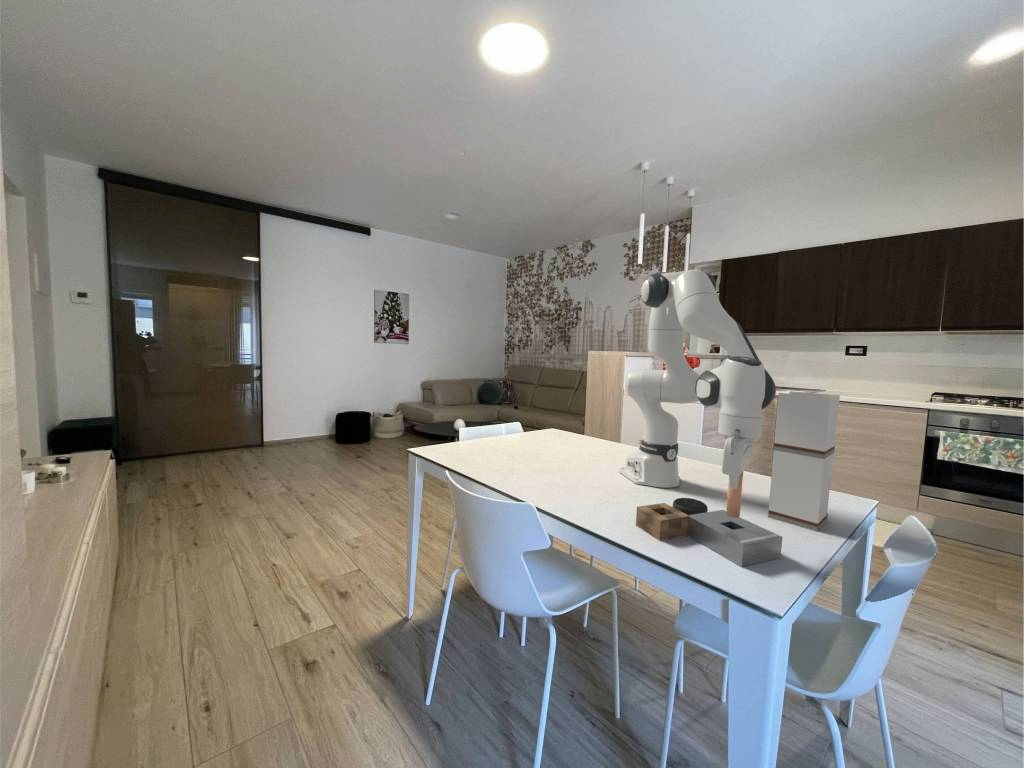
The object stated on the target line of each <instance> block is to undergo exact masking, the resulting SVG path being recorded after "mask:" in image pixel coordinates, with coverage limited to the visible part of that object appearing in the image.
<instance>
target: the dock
mask: <svg viewBox="0 0 1024 768" xmlns="http://www.w3.org/2000/svg"><path fill="white" fill-rule="evenodd" d="M687 516H688V529H687V536H686V537H688V538H691V539H693V540H694V541H695V542H698V543H699V544H701V545H703V546H704V547H706V548H708V549H710V550H711V551H713V552H715V553H716V554H718V555H720V556H722V557H723V558H725V559H726V560H729V561H730V562H732V563H733V564H736V565H737V566H739V567H740V568H745V567H748V566H752V565H757V564H761V563H765V562H771V561H774V560H779V559H781V558H782V546H783V536H782V535H779V534H777V533H775V532H773V531H771V530H769V529H766V528H765V527H762V526H759V525H757V524H755V523H753V522H751V521H748V520H746V519H744V518H742V517H738V518H735V517H730V516H728V515H726V510H725V509H720V510H714V511H708V512H706V513H699V514H693V515H687Z"/></svg>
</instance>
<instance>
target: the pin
mask: <svg viewBox="0 0 1024 768" xmlns="http://www.w3.org/2000/svg"><path fill="white" fill-rule="evenodd" d="M743 478H744V470H743V471H742V473H741V475H740V476H739V487H738V489H732V488H730V487H729V481H730V480H729V479H728V484H727V485H728V487H727V496H726V497H727V498H726V499H727V500H726V508H725V509H726V510H725V511H726V515H728V516H730V517H735V518H738V517H740V516H741V503H742V490H743ZM740 518H741V517H740Z"/></svg>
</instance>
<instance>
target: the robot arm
mask: <svg viewBox="0 0 1024 768" xmlns="http://www.w3.org/2000/svg"><path fill="white" fill-rule="evenodd" d="M640 289H641V291H640V293H641V300H642V302H643V303H644V304H645V306H646V307H649V308H651V310H650V315H649V321H648V335H647V336H648V338H647V343H648V344H647V350H648V353H649V354H650V356H652V357H653V358H654V359H656V360H658V361H660V362H662V363H663V364H664V366H665V369H647V368H646V369H645V368H644V369H637V370H631V372H629V373H628V375H627V376H626V377H625V380H624V381H625V382H624V388H625V392H626V393H627V395H628V396H629V397H630V399H632V400H633V401H634V402H635V403H636V404H637V406H638V408H639V409H640V411H641V413H642V414H641V415H642V417H643V418H642V419H643V439H642V440H641V439H640V440H639V439H638V444H640V446H639V448H638V449H637V450H636V451H635V452H632V454H629V455H628V456H627V457H626V460H625V466H623V467H621V468H619V469H618V472H619V474H621V475H622V476H624V477H626V478H627V479H628V480H629V481H631V482H632V483H634V484H636V485H641V486H644V485H645V486H649V487H655V488H675V487H679V486H680V485H681V484H680V483H681V482H680V480H681V477H680V475H679V459H678V454H679V443H678V434H679V432H678V431H679V421H678V420H677V418H676V417H675V416H674V415H672V413H669V412H668V411H666V410H665V409H664V408H663V407H662V404H661V403H671V404H679V405H681V404H682V405H683V404H684V405H685V404H692V403H693V404H694V403H697V402H700V404H702V406H705V407H708V408H715V409H716V408H717V409H719V412H718V425H717V427H718V428H717V429H718V430H717V432H718V434H720V435H723V441H724V445H723V452H722V463H721V472H722V474H724V475H728V483H729V487H730V488H732V489H738V487H739V476H740V475H741V473H742V471H743V472H744V469H745V467H746V466H747V464H748V463H749V460H750V459H751V455H752V451H753V447H754V444H755V441H756V440H755V439H760V438H761V437H762V435H763V434H762V431H763V420H764V419H763V418H764V414H763V410H764V409H766V408H767V407H768V406H770V404H771V403H772V402H773V401H774V399H775V396H776V394H777V386H776V383H775V381H774V379H773V377H772V375H770V374H769V372H768V371H767V370H766V369H765V367H764V363H763V362H762V361H761V360H760V359H759V357H758V355H757V352H756V351H755V349H754V347H753V345H752V344H751V342H750V340H749V338H748V336H747V334H746V332H745V331H744V329H743V327H742V326H741V325H740V324H739V322H738V321H737V320H735V319H734V318H733V317H732V316H730V315H729V313H728V312H727V311H726V310H725V309H724V307H723V305H722V304H721V302H720V299H719V297H718V293H717V282H716V279H715V278H714V275H712V274H711V273H709V272H704V271H703V270H700V269H688V270H686V271H684V270H683V271H675V272H674V271H672V272H663V273H660V272H656V273H652V274H648V275H647V276H646V277H645V278H644V279H643V282H642V285H641V288H640ZM684 331H685V332H686V333H688V334H689V335H691V336H693V337H696V338H699V339H702V340H705V341H709V342H711V343H714V344H715V345H718V346H720V347H721V348H723V349H724V350H725V351H726V352H727V353H728V355H729V357H727V358H726V359H725V360H724V362H723V364H721V365H719V366H717V367H715V368H711V369H709V370H704V371H703V372H702V373H701V374H699V373H698V372H696V371H695V370H694V369H693V368H692V366H691V365H690V364H689V362H688V360H687V359H686V355H685V350H684V349H685V348H684V347H685V346H684V333H685V332H684ZM729 480H730V481H729Z"/></svg>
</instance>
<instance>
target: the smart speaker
mask: <svg viewBox="0 0 1024 768" xmlns="http://www.w3.org/2000/svg"><path fill="white" fill-rule="evenodd" d="M672 507H673V508H675V509H677V510H679V511H681V512H683V513H685V514H687V515H693V514H699V513H706V512H709V510H708V505H707V504H706V503H704V502H703V501H701V500H698V499H695V498H690V497H679V498H676V499H674V500H673V502H672Z"/></svg>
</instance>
